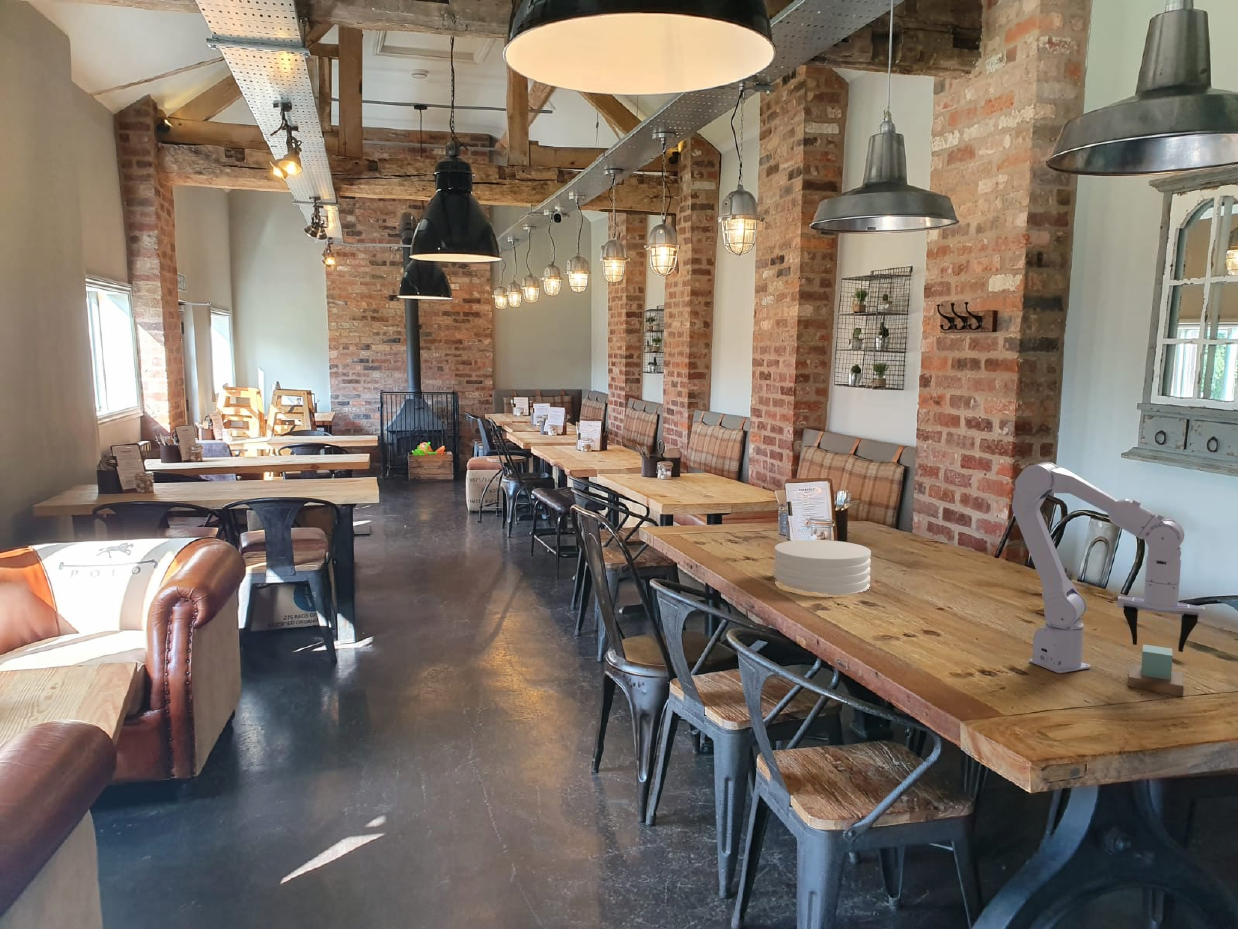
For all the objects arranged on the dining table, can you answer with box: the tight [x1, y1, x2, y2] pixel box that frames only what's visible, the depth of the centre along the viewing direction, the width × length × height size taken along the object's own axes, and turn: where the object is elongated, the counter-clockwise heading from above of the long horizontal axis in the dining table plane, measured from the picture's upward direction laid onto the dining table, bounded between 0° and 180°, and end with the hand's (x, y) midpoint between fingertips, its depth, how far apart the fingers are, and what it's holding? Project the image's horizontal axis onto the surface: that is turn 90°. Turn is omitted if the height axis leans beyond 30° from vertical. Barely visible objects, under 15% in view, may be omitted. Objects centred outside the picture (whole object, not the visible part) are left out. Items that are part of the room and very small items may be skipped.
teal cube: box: [1141, 644, 1174, 680], centre depth 164 cm, size 5×5×5 cm
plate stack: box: [773, 539, 872, 595], centre depth 243 cm, size 28×28×12 cm
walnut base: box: [1128, 663, 1185, 697], centre depth 164 cm, size 9×9×2 cm
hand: (1157, 647), depth 163 cm, fingers open, 7 cm apart
